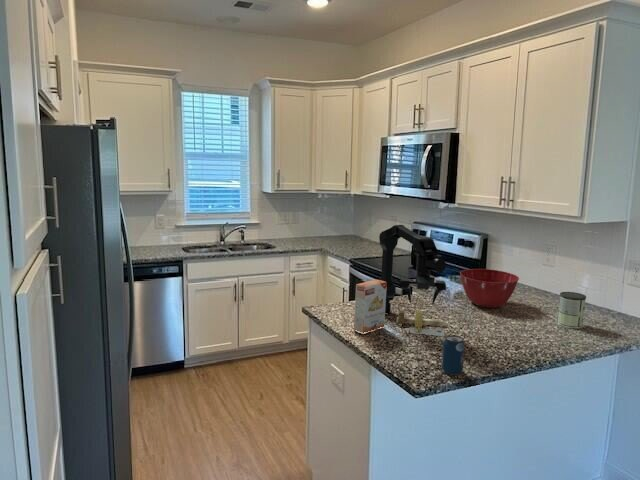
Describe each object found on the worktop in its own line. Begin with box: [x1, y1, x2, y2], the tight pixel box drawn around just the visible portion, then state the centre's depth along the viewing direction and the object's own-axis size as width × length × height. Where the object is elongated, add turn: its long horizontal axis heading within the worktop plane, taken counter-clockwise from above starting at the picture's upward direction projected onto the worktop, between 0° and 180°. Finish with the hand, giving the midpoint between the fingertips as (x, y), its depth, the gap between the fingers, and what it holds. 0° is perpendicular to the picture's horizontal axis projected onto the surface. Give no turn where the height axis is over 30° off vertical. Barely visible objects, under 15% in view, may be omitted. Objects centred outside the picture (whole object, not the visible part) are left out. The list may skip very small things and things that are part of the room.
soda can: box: [441, 334, 466, 376], centre depth 158 cm, size 7×7×12 cm
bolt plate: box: [408, 326, 446, 338], centre depth 197 cm, size 20×7×1 cm, turn 79°
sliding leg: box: [414, 310, 424, 330], centre depth 201 cm, size 3×11×7 cm, turn 169°
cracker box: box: [353, 279, 387, 333], centre depth 196 cm, size 14×6×21 cm, turn 134°
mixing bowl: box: [459, 268, 520, 309], centre depth 239 cm, size 28×28×15 cm
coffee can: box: [557, 291, 587, 329], centre depth 209 cm, size 10×10×14 cm
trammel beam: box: [396, 310, 444, 328], centre depth 202 cm, size 20×10×6 cm, turn 79°
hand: (421, 303), depth 196 cm, fingers open, 9 cm apart
